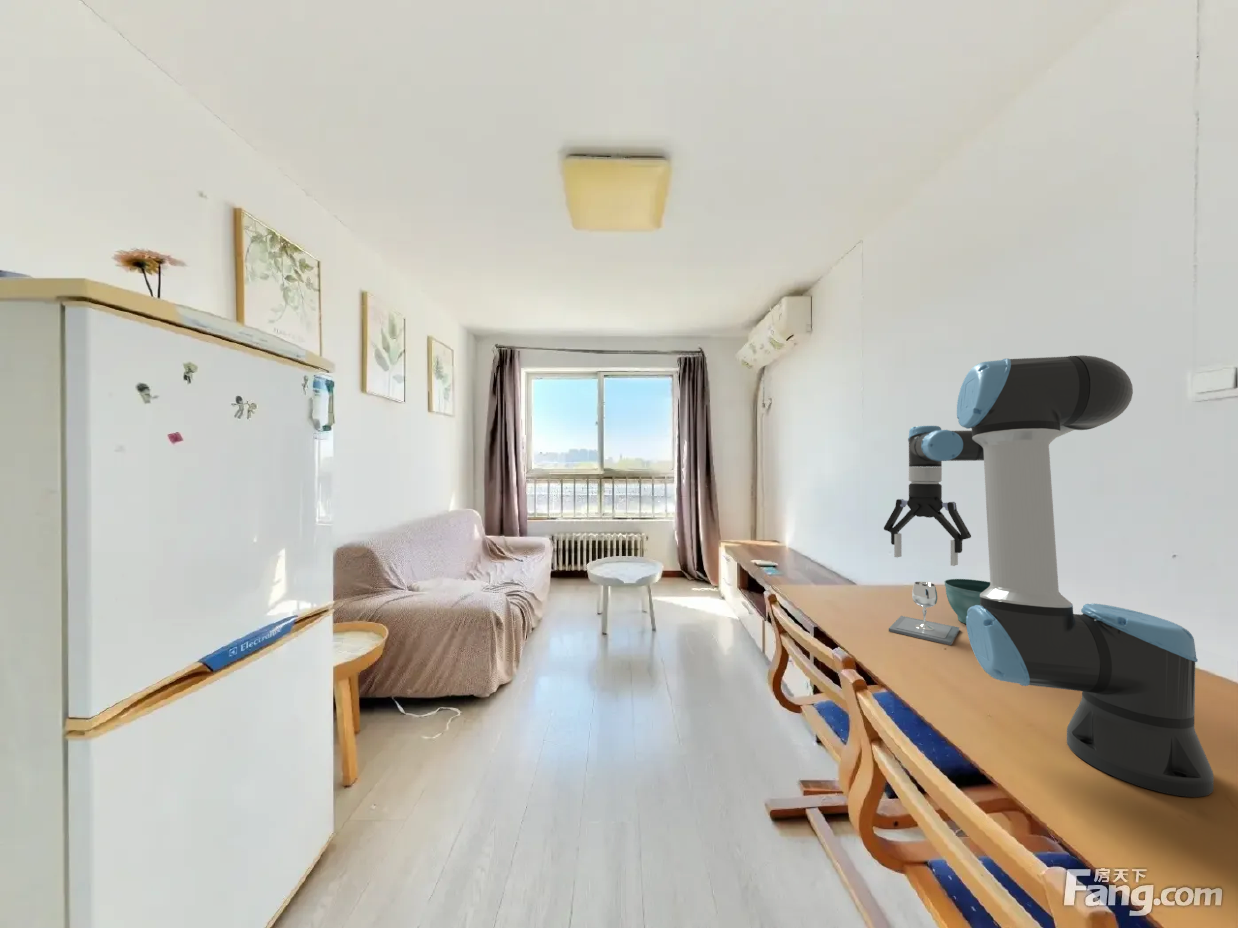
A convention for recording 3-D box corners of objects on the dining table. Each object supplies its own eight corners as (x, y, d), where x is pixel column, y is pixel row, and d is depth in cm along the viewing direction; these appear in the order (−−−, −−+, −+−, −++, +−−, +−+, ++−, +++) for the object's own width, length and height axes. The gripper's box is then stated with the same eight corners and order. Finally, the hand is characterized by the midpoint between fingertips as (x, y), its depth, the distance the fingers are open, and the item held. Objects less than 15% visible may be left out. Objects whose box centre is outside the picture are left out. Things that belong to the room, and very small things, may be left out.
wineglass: (939, 627, 127) (939, 583, 127) (935, 633, 123) (935, 587, 123) (914, 622, 131) (914, 579, 131) (909, 627, 127) (910, 583, 127)
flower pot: (951, 610, 144) (952, 575, 144) (1020, 623, 133) (1020, 585, 132) (937, 622, 134) (937, 585, 133) (1010, 638, 122) (1010, 597, 122)
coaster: (951, 645, 117) (951, 641, 117) (888, 631, 127) (888, 627, 127) (959, 630, 128) (959, 626, 128) (901, 618, 137) (901, 615, 137)
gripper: (985, 484, 119) (985, 566, 119) (883, 481, 139) (883, 552, 139) (975, 484, 115) (975, 570, 115) (871, 481, 135) (871, 555, 134)
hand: (924, 560), depth 127 cm, fingers open, 13 cm apart
